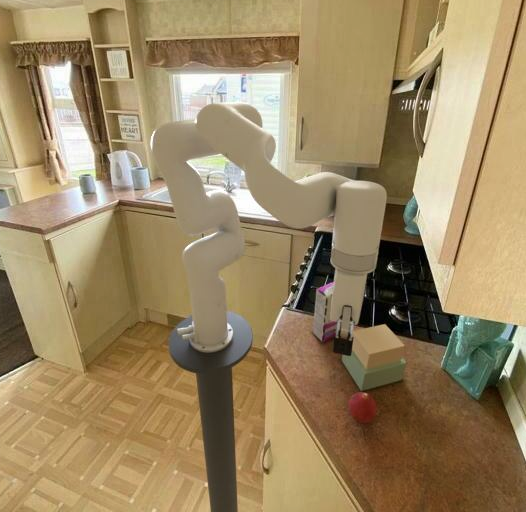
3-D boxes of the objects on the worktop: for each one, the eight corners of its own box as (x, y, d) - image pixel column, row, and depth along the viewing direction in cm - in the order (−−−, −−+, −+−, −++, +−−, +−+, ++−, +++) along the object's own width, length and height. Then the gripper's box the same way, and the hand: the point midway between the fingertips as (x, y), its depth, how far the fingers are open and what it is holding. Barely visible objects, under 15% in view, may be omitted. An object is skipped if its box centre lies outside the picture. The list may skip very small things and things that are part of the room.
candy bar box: (338, 319, 101) (344, 276, 94) (349, 329, 97) (356, 284, 90) (311, 332, 95) (315, 288, 88) (322, 343, 91) (327, 297, 84)
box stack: (361, 391, 77) (368, 358, 72) (341, 360, 86) (346, 329, 81) (402, 379, 80) (411, 347, 76) (379, 351, 89) (386, 320, 84)
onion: (342, 419, 70) (346, 394, 67) (354, 401, 74) (358, 377, 71) (366, 436, 67) (372, 411, 64) (377, 417, 71) (383, 392, 68)
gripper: (336, 232, 61) (329, 304, 68) (324, 278, 46) (317, 364, 53) (376, 237, 59) (365, 310, 66) (378, 287, 44) (363, 375, 51)
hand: (344, 334), depth 60 cm, fingers open, 9 cm apart
